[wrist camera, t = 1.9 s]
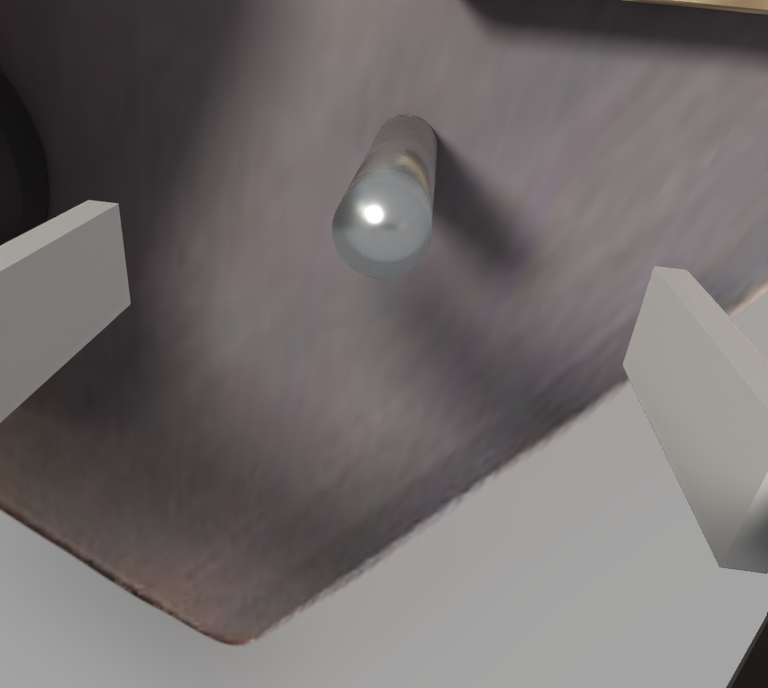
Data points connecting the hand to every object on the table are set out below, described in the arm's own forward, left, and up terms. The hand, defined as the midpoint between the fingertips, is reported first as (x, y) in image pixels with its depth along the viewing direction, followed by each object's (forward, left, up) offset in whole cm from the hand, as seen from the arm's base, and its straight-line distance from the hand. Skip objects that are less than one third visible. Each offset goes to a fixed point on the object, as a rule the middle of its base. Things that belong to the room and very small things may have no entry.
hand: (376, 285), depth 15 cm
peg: (0, 0, -17) cm, 17 cm away
